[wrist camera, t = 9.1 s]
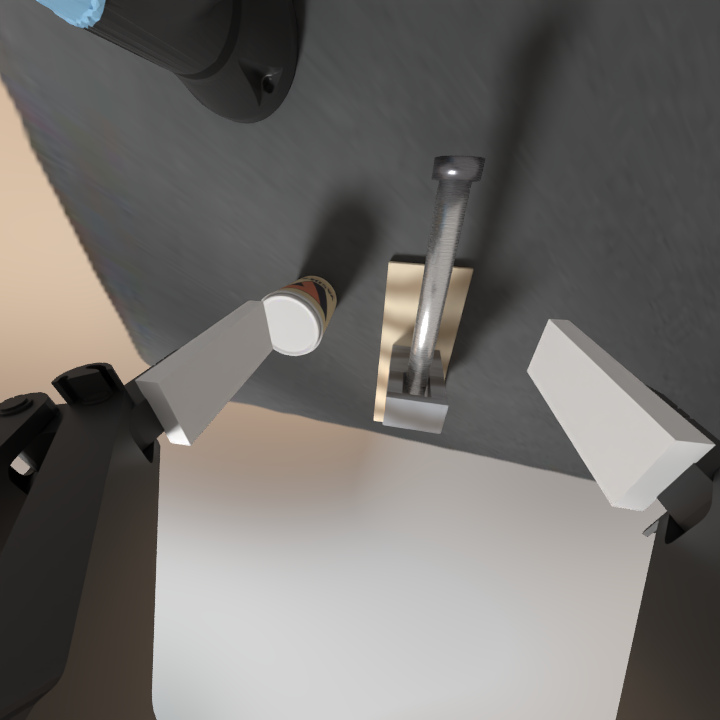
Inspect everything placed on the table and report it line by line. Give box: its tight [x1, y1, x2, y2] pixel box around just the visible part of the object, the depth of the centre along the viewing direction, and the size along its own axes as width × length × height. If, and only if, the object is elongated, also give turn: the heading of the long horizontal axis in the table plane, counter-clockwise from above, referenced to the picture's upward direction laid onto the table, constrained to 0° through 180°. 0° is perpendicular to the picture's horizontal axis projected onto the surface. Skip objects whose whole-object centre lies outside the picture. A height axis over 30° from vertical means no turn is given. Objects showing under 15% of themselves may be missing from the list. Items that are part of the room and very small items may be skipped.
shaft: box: [404, 156, 485, 396], centre depth 31 cm, size 28×4×4 cm, turn 177°
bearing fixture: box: [374, 261, 473, 434], centre depth 41 cm, size 32×12×15 cm, turn 177°
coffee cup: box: [261, 276, 337, 356], centre depth 40 cm, size 9×9×12 cm
